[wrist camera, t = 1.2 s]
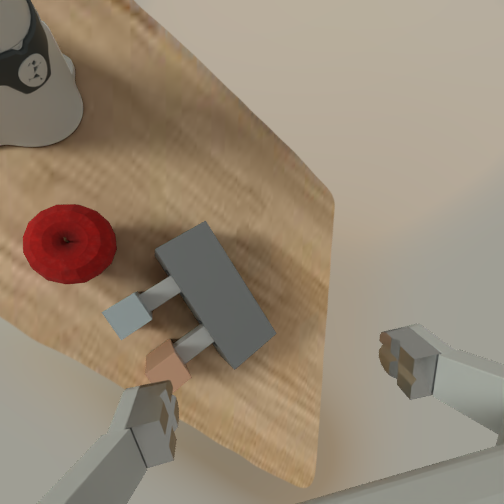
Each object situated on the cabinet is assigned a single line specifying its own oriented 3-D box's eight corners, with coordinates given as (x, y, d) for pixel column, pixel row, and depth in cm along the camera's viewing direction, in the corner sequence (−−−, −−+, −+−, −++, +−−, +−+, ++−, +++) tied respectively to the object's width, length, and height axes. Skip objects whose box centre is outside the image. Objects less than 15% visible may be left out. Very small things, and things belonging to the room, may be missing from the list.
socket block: (154, 255, 41) (155, 248, 34) (196, 231, 44) (205, 220, 37) (220, 355, 43) (234, 369, 36) (256, 325, 46) (276, 333, 39)
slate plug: (112, 306, 38) (101, 312, 30) (172, 270, 42) (177, 266, 34) (127, 328, 38) (121, 340, 30) (185, 290, 42) (193, 291, 34)
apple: (62, 209, 38) (30, 181, 27) (131, 230, 41) (124, 212, 30) (34, 273, 35) (-13, 269, 25) (108, 291, 38) (93, 293, 28)
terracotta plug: (146, 355, 39) (144, 374, 31) (201, 315, 43) (213, 322, 34) (160, 376, 39) (163, 400, 31) (214, 334, 43) (229, 346, 35)
